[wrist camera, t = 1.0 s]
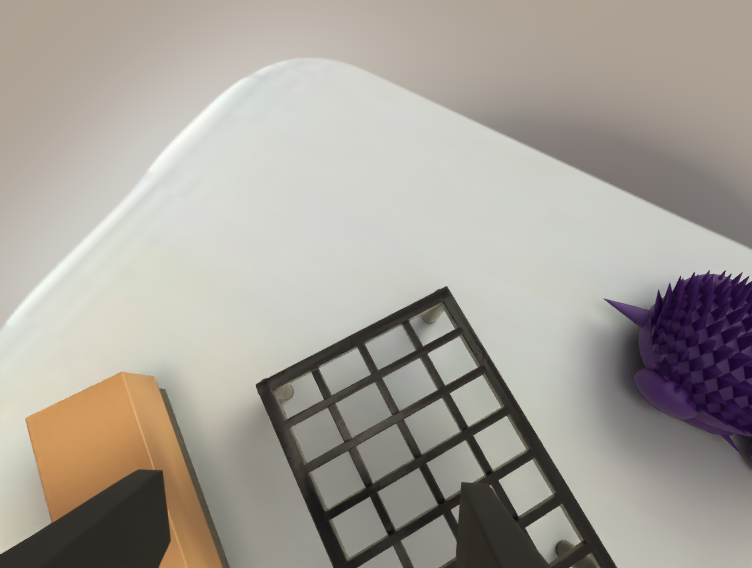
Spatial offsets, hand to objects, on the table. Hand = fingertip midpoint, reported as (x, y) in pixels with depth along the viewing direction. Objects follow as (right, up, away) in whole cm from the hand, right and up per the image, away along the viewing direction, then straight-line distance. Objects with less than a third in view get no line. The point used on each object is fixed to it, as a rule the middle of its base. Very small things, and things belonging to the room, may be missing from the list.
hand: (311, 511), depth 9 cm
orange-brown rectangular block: (-9, -6, +11) cm, 16 cm away
